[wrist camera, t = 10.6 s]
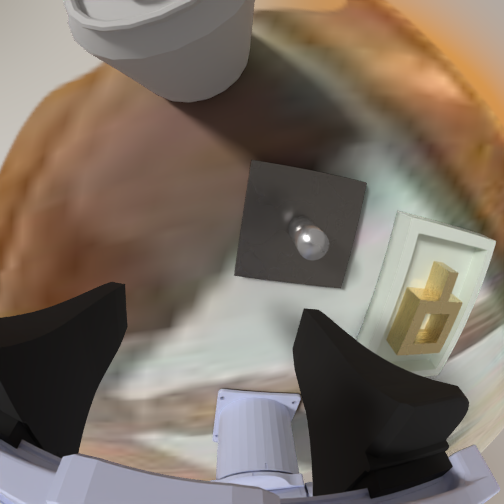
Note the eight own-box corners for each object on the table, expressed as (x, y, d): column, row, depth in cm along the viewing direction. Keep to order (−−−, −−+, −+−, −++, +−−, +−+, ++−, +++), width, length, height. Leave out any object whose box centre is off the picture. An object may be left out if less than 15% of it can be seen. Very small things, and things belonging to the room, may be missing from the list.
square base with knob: (337, 283, 22) (356, 312, 18) (234, 271, 21) (233, 300, 17) (362, 181, 19) (391, 189, 15) (251, 159, 19) (254, 161, 14)
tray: (429, 363, 26) (438, 375, 24) (345, 367, 25) (351, 382, 23) (481, 234, 21) (496, 241, 19) (397, 210, 20) (411, 217, 18)
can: (250, 11, 15) (260, -103, 3) (248, 103, 17) (259, 31, 6) (147, 19, 15) (74, -69, 3) (139, 109, 17) (28, 72, 6)
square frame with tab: (428, 339, 24) (439, 352, 22) (386, 339, 23) (396, 355, 21) (457, 264, 21) (473, 275, 19) (416, 258, 21) (431, 269, 19)
